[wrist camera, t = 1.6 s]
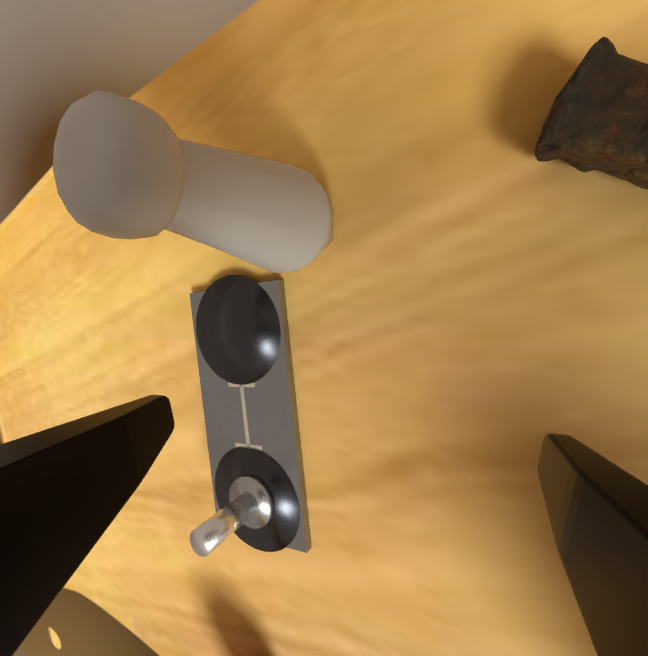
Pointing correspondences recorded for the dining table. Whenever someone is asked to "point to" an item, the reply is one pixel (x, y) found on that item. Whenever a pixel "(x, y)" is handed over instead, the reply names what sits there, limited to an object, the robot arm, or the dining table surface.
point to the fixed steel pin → (235, 514)
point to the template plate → (252, 402)
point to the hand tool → (601, 117)
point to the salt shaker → (184, 187)
